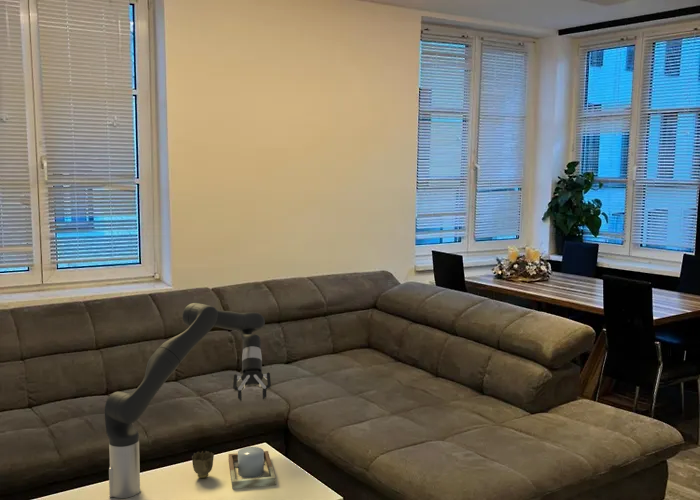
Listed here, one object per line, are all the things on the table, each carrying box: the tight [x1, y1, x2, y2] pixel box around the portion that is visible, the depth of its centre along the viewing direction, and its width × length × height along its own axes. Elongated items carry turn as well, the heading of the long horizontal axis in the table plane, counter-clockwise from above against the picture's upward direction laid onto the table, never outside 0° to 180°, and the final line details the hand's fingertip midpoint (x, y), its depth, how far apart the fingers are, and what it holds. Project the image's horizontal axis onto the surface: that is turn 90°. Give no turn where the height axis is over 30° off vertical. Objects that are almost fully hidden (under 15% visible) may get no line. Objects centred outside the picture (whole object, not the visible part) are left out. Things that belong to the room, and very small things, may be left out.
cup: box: [191, 450, 215, 480], centre depth 232 cm, size 8×7×8 cm
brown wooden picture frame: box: [228, 450, 277, 490], centre depth 237 cm, size 14×23×2 cm, turn 13°
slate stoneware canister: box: [237, 446, 265, 479], centre depth 236 cm, size 9×9×8 cm
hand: (252, 400), depth 253 cm, fingers open, 8 cm apart
